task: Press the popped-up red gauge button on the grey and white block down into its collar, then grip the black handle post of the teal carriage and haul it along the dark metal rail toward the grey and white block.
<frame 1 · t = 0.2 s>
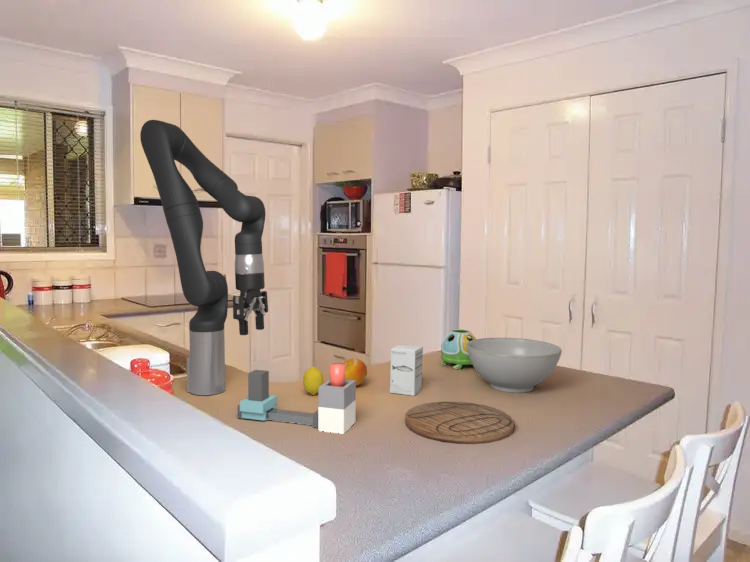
hand: (252, 332, 148), 17 cm above the counter, tool pointing down, fingers open, 8 cm apart
decorative bowl: (511, 387, 162), on the counter
fruit: (352, 387, 160), on the counter
turtle holder: (463, 366, 187), on the counter
supplement box: (406, 392, 156), on the counter
lemon: (313, 396, 151), on the counter
trivet: (458, 426, 129), on the counter
carriage: (258, 393, 132), point 6 cm above the counter, slide at 0.0 cm
gauge button: (337, 377, 126), point 11 cm above the counter, slide at 0.0 cm
grey and white block: (337, 426, 126), on the counter
rail: (281, 420, 131), on the counter
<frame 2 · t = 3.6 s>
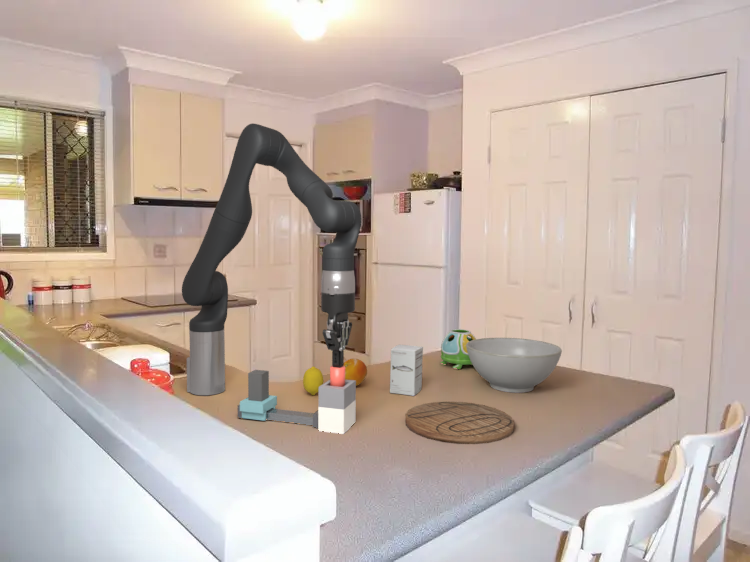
hand: (337, 366, 125), 14 cm above the counter, tool pointing down, fingers closed
gauge button: (337, 379, 126), point 11 cm above the counter, slide at 0.5 cm, touching gripper
everything else where it was.
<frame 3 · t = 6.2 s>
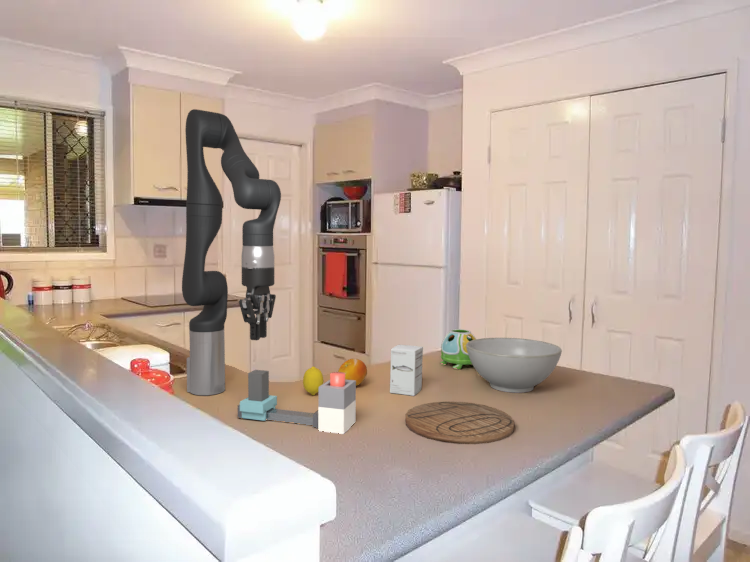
hand: (258, 338, 131), 19 cm above the counter, tool pointing down, fingers closed
gauge button: (337, 386, 126), point 9 cm above the counter, slide at 2.1 cm
everything else where it was.
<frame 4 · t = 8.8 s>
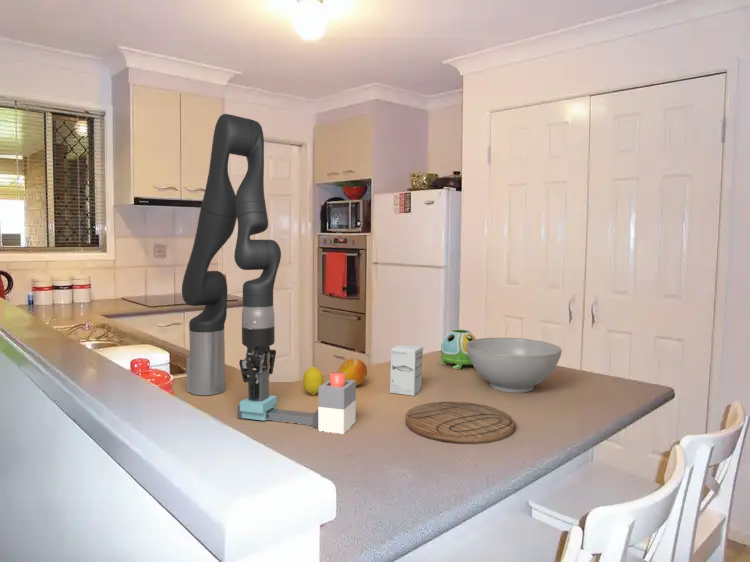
hand: (258, 396, 132), 5 cm above the counter, tool pointing down, fingers closed on carriage, 3 cm apart
carriage: (258, 393, 132), point 6 cm above the counter, slide at 0.0 cm, touching gripper
everything else where it was.
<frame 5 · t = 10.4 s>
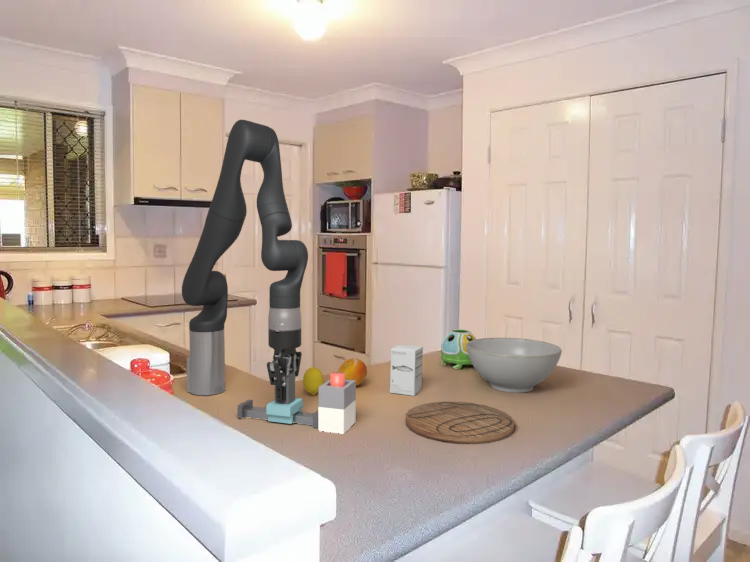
hand: (285, 398, 130), 5 cm above the counter, tool pointing down, fingers closed on carriage, 3 cm apart
carriage: (285, 396, 130), point 6 cm above the counter, slide at 6.9 cm, touching gripper
everything else where it was.
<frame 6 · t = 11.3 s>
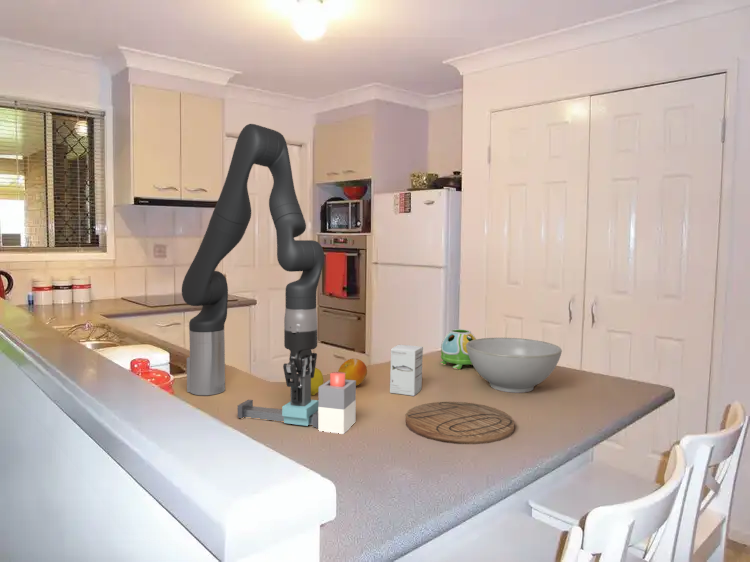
hand: (300, 400, 129), 5 cm above the counter, tool pointing down, fingers closed on carriage, 3 cm apart
carriage: (300, 398, 129), point 6 cm above the counter, slide at 10.9 cm, touching gripper
everything else where it was.
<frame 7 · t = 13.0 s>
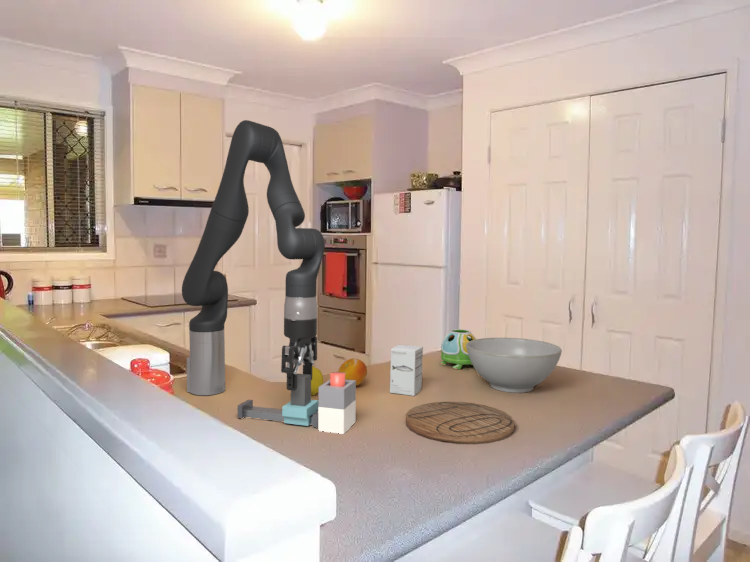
hand: (299, 385, 128), 9 cm above the counter, tool pointing down, fingers open, 8 cm apart
carriage: (300, 398, 129), point 6 cm above the counter, slide at 10.9 cm
everything else where it was.
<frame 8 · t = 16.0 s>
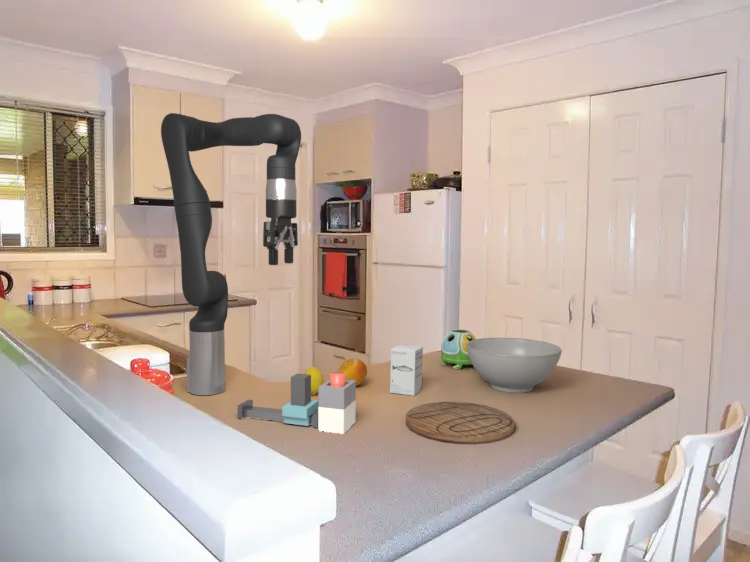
hand: (281, 264, 139), 36 cm above the counter, tool pointing down, fingers open, 8 cm apart
nothing on the counter moved.
at the end: carriage slide at 10.9 cm; gauge button slide at 2.1 cm; the gripper is holding nothing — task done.
